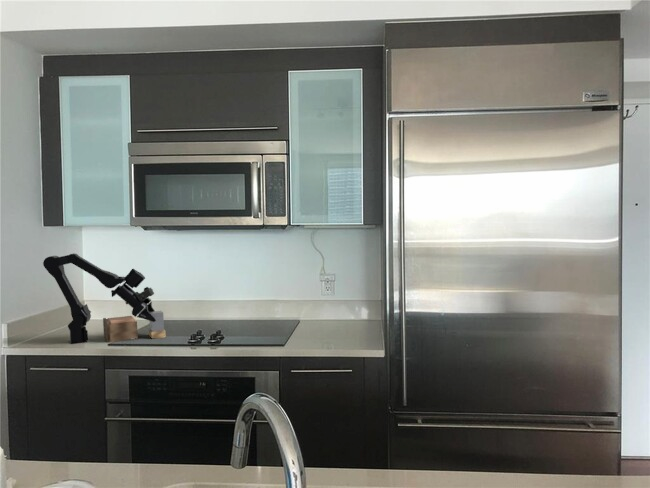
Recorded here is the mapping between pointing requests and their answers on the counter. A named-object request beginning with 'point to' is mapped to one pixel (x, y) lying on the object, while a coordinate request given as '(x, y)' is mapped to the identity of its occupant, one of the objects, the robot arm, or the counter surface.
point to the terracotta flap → (121, 319)
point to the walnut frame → (119, 330)
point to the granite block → (157, 321)
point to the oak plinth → (157, 334)
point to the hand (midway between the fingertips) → (156, 319)
